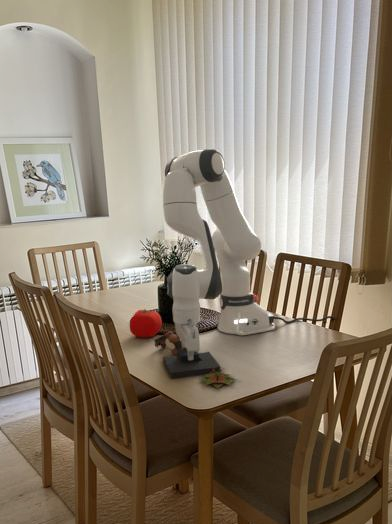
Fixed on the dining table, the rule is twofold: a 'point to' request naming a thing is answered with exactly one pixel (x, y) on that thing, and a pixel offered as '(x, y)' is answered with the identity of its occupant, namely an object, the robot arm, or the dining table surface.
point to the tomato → (145, 323)
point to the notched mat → (191, 366)
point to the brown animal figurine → (172, 339)
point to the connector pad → (183, 356)
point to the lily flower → (217, 378)
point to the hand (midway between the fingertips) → (187, 355)
